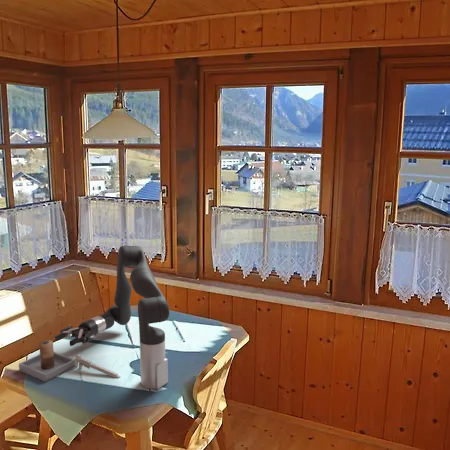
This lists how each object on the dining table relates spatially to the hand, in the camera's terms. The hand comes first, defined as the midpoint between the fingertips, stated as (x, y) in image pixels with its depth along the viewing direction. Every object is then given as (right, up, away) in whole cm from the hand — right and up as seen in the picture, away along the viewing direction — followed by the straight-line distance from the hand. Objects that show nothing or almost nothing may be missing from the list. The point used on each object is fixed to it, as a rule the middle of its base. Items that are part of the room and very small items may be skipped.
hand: (62, 341), depth 193 cm
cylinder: (-4, -9, -5) cm, 11 cm away
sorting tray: (-4, -10, -5) cm, 12 cm away
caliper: (+16, -11, -8) cm, 21 cm away
